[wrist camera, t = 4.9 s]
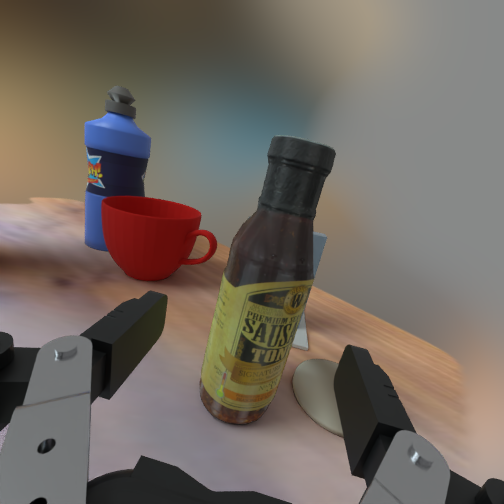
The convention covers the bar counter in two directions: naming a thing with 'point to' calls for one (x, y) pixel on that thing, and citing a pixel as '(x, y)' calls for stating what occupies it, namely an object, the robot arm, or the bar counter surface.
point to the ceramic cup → (151, 235)
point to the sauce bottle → (265, 284)
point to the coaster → (318, 393)
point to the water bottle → (113, 160)
